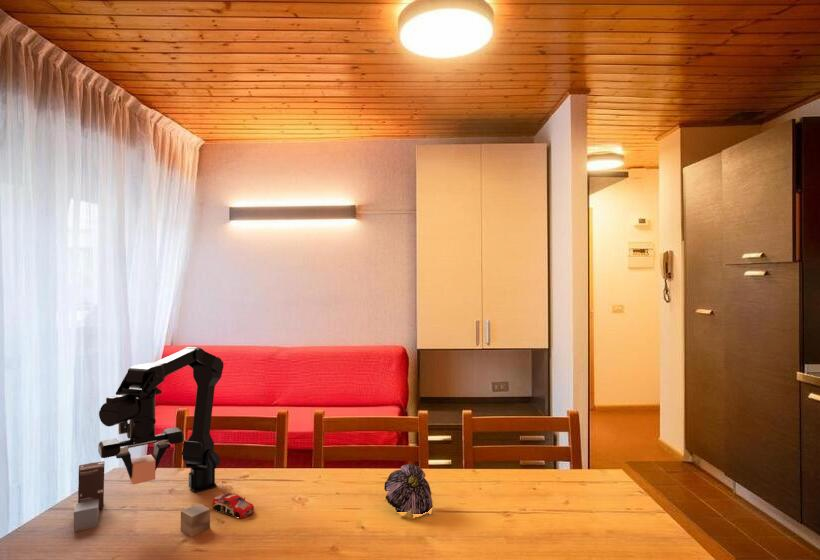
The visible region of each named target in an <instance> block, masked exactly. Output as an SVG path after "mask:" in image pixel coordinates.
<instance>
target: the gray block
mask: <svg viewBox="0 0 820 560" xmlns="http://www.w3.org/2000/svg"><path fill="white" fill-rule="evenodd" d="M99 513H100V509H99V499H97V500H92V501H87V502H82V503H78V502H77V503H75V505H74V510H73V532H77V531H76V530H78V531H81V530H82V529H83V530H88V529H92V528H95V527H98V526H99V520H100V519H99V517H100V516H99V515H100V514H99Z"/></svg>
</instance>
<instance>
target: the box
mask: <svg viewBox="0 0 820 560" xmlns="http://www.w3.org/2000/svg"><path fill="white" fill-rule="evenodd" d="M77 488H78V489H77V490H78V492H77V493H78V494H77V503H82V502H87V501H92V500H97V499H99V510H100V509H104V505H105V504H104V501H105V500H104V498H105V497H104V495H105V494H104V493H105V461H98V462H97V461H96V462H90V463H86V464H85V463H84V464H80V465H78V487H77Z"/></svg>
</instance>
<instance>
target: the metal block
mask: <svg viewBox="0 0 820 560" xmlns="http://www.w3.org/2000/svg"><path fill="white" fill-rule="evenodd" d="M208 528H209V529H211V508H209V507H208V506H205V505H203V504H202V503H197V504H195V505H194V504H193V505H191V506H190V507H187V508H185V509H182V510H181V511H180V531H181V532H183V533H184V534H186V535H188V536H190V537H194V536H196V535H198V534H200V533H203V532H205V531H207V530H209V529H208Z"/></svg>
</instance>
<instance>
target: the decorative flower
mask: <svg viewBox="0 0 820 560" xmlns="http://www.w3.org/2000/svg"><path fill="white" fill-rule="evenodd" d="M383 487H384V489H383V490H384V491H385V492H387V494H386V496H385V500H387V501H386V502H387V504H388V505H390V506H392V507H393V508H395V511H396V512H408V511H409V512H410V510H411V515H412V514H423V513H425V512H428V511H429V510H430V509H431V508H432V507H433V508H434V506H433V504H434V503H433V499H432V491H431V486H430V484H429V482H428V481H427V480H426V473H425V472H424V470H423V469H422V468H421V467H420V466H418V465H416V464H411V463H409V464H403V465H401V466H400V469H396V470H394V471H393V472H391V473H390V474H389V475H388V477H387V479H386V481H385V482H384V486H383ZM409 512H408V513H409Z"/></svg>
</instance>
